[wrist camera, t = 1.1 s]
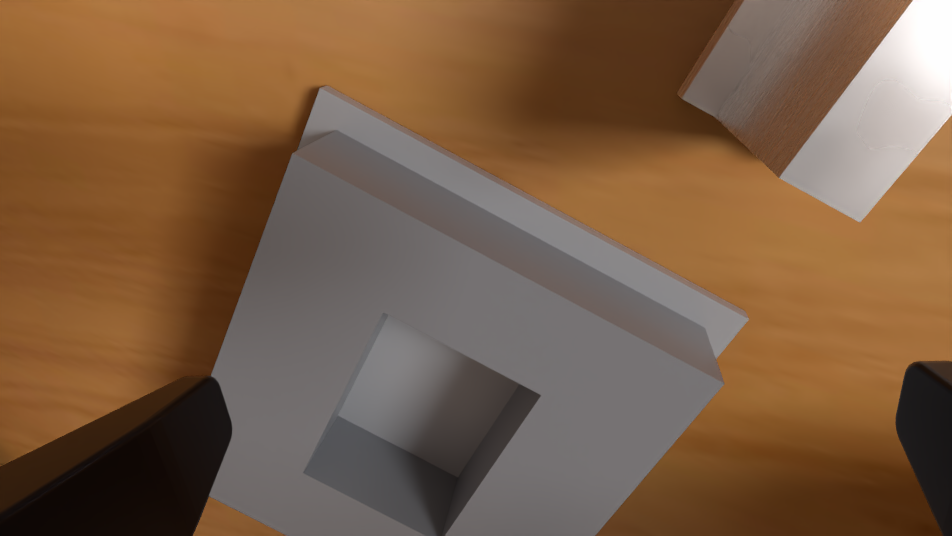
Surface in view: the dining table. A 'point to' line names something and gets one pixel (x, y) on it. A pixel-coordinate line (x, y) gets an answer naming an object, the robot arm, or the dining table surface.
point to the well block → (448, 350)
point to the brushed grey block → (830, 89)
